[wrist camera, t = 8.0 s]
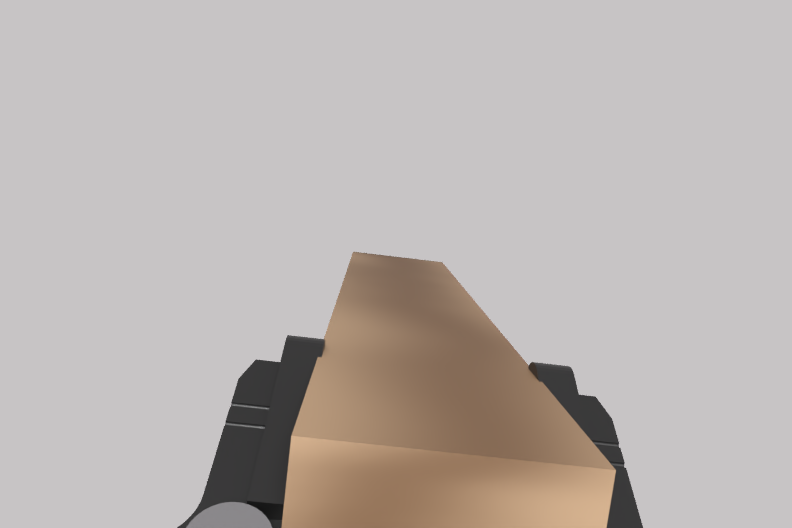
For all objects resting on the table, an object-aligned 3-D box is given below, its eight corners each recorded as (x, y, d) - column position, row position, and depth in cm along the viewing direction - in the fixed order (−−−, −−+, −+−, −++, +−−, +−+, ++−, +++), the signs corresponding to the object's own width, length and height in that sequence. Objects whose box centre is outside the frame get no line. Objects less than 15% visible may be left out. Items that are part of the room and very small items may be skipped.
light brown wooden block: (259, 737, 9) (291, 435, 8) (343, 339, 30) (353, 251, 30) (567, 763, 9) (616, 469, 8) (430, 349, 31) (442, 262, 30)
